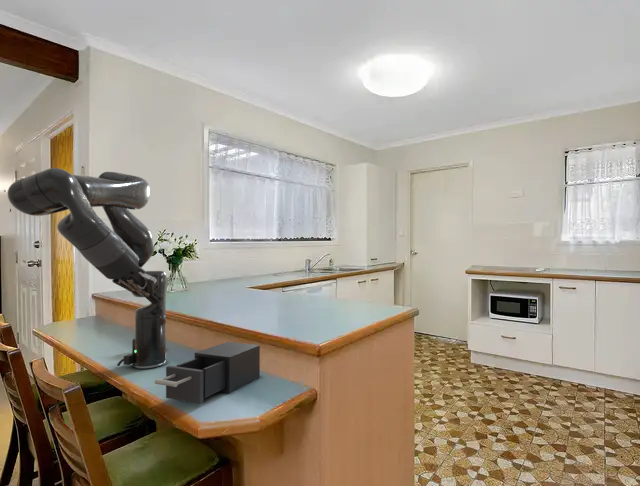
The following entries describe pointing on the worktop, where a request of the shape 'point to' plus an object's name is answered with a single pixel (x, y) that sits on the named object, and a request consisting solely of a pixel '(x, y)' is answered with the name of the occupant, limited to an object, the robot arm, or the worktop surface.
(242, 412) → the worktop surface
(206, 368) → the dark grey drawer
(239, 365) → the dark grey drawer box
